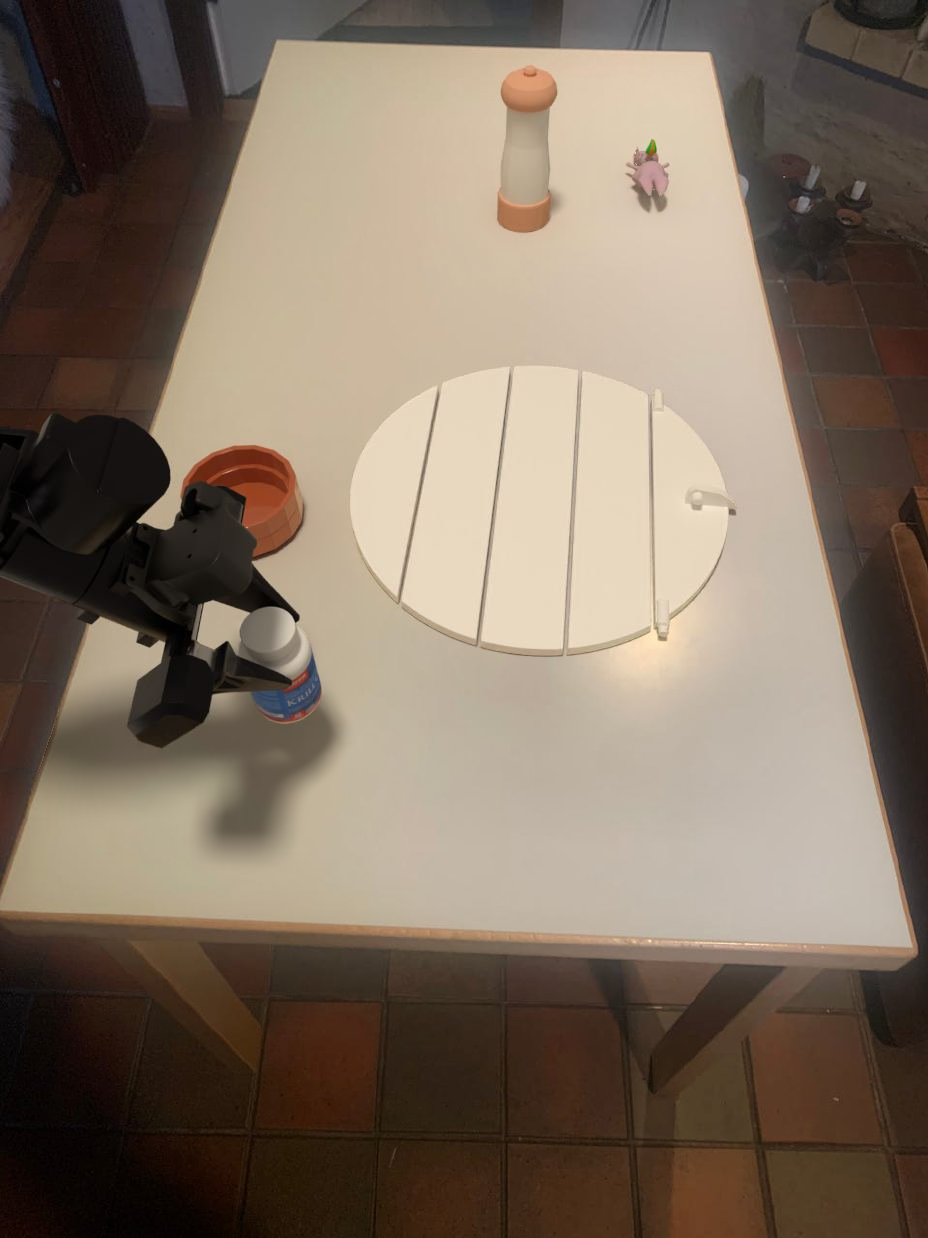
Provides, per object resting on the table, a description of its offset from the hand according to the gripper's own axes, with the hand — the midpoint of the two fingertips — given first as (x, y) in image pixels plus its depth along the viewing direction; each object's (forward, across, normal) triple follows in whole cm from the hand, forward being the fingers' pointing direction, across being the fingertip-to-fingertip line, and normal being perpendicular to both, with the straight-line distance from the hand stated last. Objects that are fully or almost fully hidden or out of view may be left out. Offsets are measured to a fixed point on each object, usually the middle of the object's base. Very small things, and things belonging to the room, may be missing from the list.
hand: (293, 652), depth 63 cm
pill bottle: (+4, 0, +6) cm, 7 cm away
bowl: (+3, +25, +16) cm, 29 cm away
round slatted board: (+24, +27, -6) cm, 37 cm away
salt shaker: (+25, +79, -6) cm, 83 cm away
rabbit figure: (+38, +87, -20) cm, 96 cm away
